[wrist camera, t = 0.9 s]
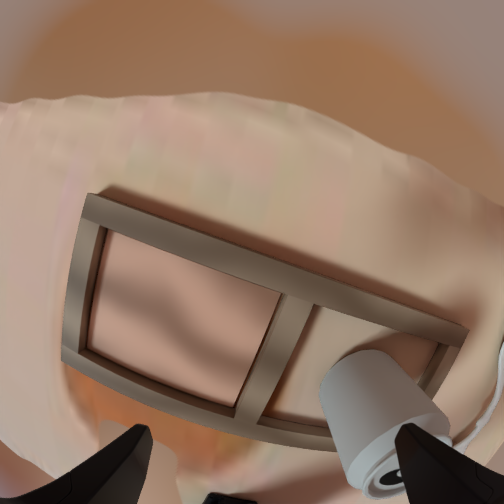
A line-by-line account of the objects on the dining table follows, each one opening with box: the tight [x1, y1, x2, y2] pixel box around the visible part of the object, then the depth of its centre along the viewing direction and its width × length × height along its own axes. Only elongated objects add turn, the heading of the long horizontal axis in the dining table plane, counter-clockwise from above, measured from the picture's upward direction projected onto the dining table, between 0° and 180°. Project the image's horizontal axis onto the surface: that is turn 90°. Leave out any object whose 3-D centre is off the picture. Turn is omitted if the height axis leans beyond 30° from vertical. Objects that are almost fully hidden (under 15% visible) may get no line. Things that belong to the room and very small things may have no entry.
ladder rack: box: [61, 193, 469, 452], centre depth 21 cm, size 16×36×2 cm, turn 70°
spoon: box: [452, 342, 504, 454], centre depth 22 cm, size 9×32×4 cm, turn 165°
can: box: [319, 349, 453, 500], centre depth 16 cm, size 8×8×12 cm
